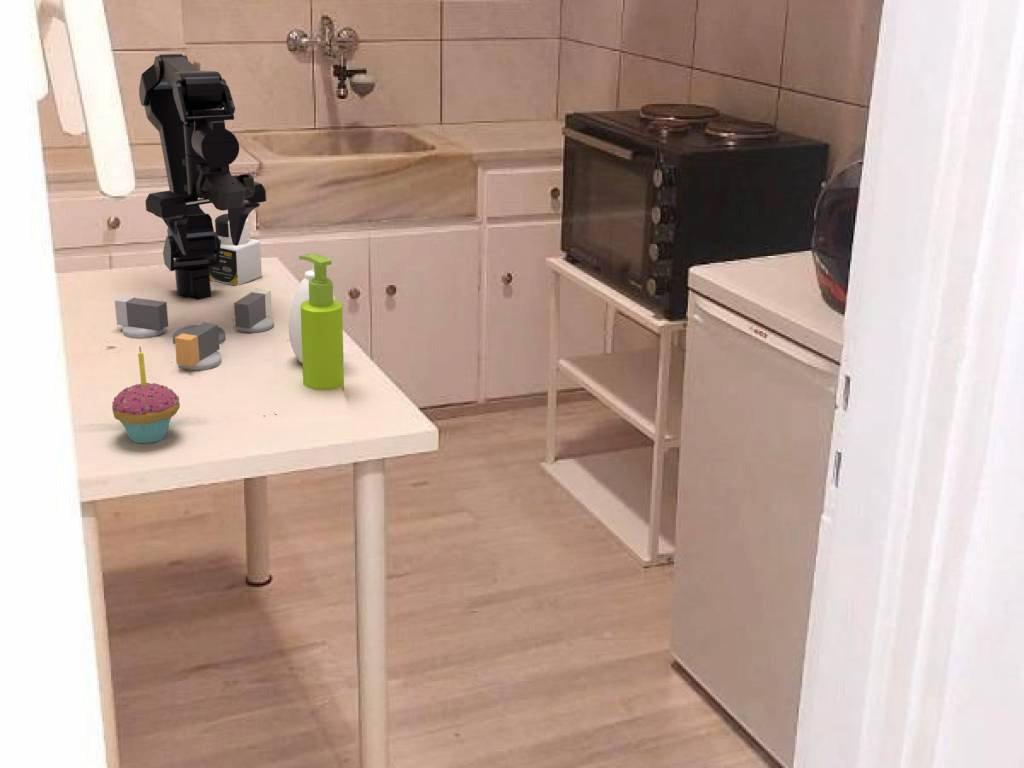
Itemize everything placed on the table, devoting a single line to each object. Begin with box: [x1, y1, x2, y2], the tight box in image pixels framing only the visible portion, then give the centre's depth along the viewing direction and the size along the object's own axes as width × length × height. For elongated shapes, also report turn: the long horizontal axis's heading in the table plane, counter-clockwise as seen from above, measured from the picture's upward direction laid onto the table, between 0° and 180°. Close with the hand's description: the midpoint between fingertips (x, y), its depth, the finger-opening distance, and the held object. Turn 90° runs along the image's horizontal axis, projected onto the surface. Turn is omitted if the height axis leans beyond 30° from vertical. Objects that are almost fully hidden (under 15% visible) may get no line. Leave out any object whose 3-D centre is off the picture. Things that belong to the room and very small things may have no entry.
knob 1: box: [174, 321, 222, 371], centre depth 176 cm, size 8×6×5 cm
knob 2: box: [233, 288, 275, 334], centre depth 192 cm, size 8×6×5 cm
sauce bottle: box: [288, 262, 337, 364], centre depth 177 cm, size 8×8×18 cm
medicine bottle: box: [209, 213, 263, 287], centre depth 217 cm, size 7×7×12 cm
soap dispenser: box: [298, 253, 345, 392], centre depth 169 cm, size 6×7×20 cm
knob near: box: [114, 295, 169, 339], centre depth 188 cm, size 8×6×5 cm
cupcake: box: [111, 345, 181, 444], centre depth 154 cm, size 9×8×12 cm
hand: (210, 249), depth 191 cm, fingers open, 9 cm apart
